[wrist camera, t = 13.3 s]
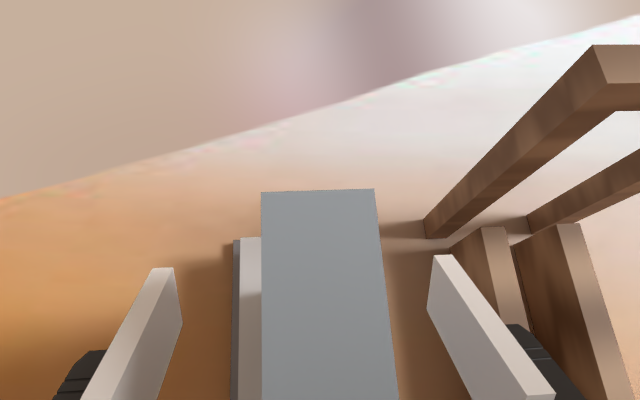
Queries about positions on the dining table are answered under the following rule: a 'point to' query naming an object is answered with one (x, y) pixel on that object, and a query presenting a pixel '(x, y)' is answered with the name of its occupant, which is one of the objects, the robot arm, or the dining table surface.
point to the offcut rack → (553, 222)
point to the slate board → (324, 298)
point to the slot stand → (246, 321)
